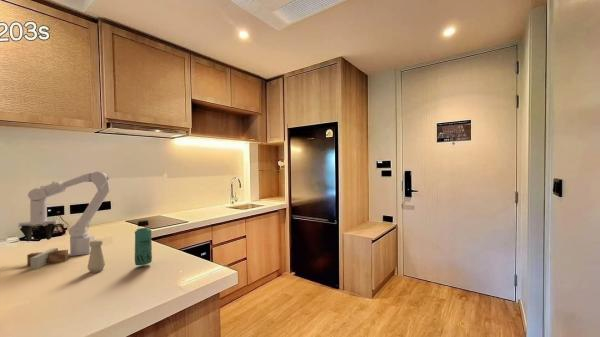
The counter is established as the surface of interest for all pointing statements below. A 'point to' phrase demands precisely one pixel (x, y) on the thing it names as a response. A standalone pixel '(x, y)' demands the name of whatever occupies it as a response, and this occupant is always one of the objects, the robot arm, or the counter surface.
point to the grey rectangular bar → (40, 259)
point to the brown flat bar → (51, 256)
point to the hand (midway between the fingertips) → (39, 240)
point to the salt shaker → (96, 257)
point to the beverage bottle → (143, 244)
